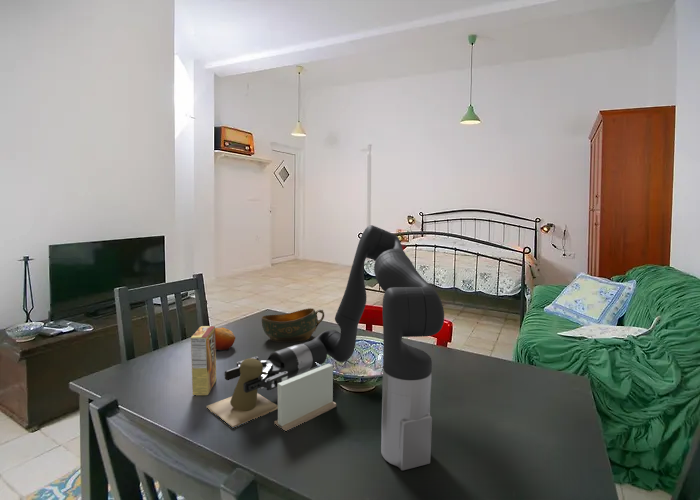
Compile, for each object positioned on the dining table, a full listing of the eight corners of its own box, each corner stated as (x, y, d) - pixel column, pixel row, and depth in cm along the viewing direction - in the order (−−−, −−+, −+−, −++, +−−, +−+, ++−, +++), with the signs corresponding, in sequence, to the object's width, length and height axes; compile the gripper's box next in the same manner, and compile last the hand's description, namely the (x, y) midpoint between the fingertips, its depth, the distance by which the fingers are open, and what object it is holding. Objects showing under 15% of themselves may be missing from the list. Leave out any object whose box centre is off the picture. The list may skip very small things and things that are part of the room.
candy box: (201, 380, 109) (199, 325, 107) (217, 379, 110) (215, 325, 108) (192, 396, 100) (189, 337, 98) (209, 395, 101) (207, 336, 99)
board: (278, 408, 95) (278, 406, 95) (232, 429, 86) (232, 426, 86) (250, 391, 103) (250, 389, 103) (206, 408, 95) (206, 405, 95)
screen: (324, 400, 99) (325, 361, 98) (336, 406, 96) (336, 366, 95) (274, 424, 88) (273, 381, 87) (285, 432, 85) (285, 387, 84)
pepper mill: (259, 399, 97) (269, 359, 95) (250, 414, 92) (261, 371, 89) (236, 392, 98) (245, 352, 96) (225, 406, 92) (235, 363, 90)
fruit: (202, 342, 133) (215, 321, 134) (224, 351, 136) (236, 330, 137) (204, 351, 126) (218, 328, 127) (227, 360, 129) (240, 338, 130)
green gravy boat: (312, 347, 133) (312, 318, 132) (259, 341, 139) (258, 313, 138) (325, 335, 146) (325, 308, 145) (276, 330, 151) (275, 304, 150)
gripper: (274, 340, 109) (218, 357, 97) (308, 355, 99) (250, 376, 87) (274, 367, 110) (219, 387, 98) (308, 384, 100) (251, 408, 88)
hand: (234, 382), depth 93 cm, fingers open, 8 cm apart
